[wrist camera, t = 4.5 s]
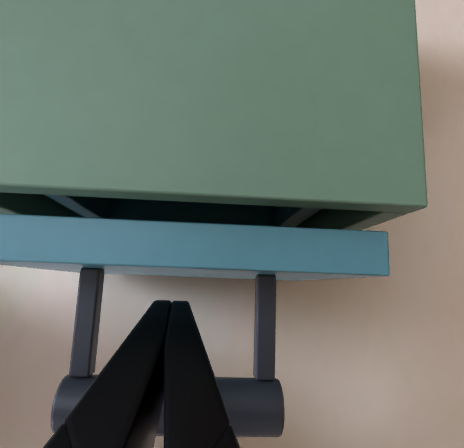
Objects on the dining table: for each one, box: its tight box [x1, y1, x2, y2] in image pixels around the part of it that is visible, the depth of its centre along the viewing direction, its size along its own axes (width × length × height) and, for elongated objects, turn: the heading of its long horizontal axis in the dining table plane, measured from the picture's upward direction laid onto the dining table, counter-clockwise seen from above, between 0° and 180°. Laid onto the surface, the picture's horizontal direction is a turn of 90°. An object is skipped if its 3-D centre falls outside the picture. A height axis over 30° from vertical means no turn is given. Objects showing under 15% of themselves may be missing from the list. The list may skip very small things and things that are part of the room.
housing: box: [0, 0, 427, 230], centre depth 15 cm, size 15×13×12 cm
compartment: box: [0, 195, 389, 437], centre depth 15 cm, size 18×11×10 cm, turn 178°
